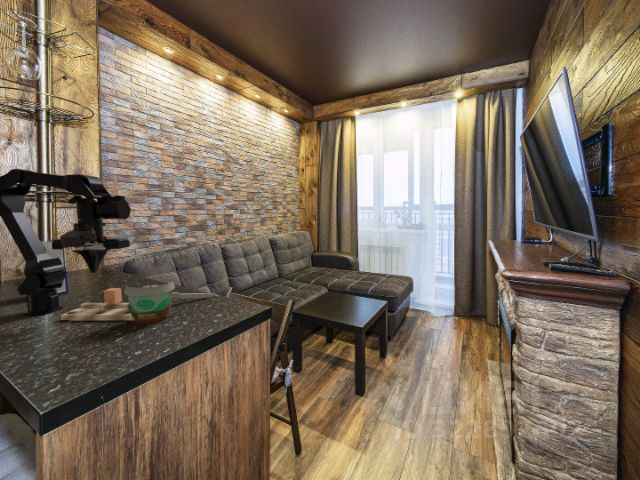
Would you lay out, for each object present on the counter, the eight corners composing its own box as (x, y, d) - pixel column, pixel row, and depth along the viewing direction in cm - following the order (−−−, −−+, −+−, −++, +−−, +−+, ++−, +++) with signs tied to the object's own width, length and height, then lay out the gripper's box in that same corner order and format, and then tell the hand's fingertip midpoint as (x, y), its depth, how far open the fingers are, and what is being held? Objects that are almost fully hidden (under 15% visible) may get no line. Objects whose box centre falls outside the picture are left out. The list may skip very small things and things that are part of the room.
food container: (123, 329, 76) (120, 290, 75) (125, 321, 82) (123, 285, 81) (176, 321, 82) (175, 285, 81) (176, 314, 87) (174, 280, 86)
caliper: (155, 310, 91) (154, 290, 91) (154, 309, 92) (153, 289, 92) (217, 296, 106) (217, 279, 106) (216, 296, 107) (215, 278, 106)
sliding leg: (95, 311, 84) (93, 294, 83) (112, 303, 91) (111, 288, 90) (105, 311, 84) (104, 294, 83) (122, 303, 91) (121, 288, 90)
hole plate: (61, 320, 82) (59, 297, 82) (91, 307, 93) (89, 287, 93) (131, 320, 82) (130, 297, 82) (153, 307, 93) (151, 287, 93)
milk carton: (33, 296, 105) (28, 239, 103) (55, 291, 111) (50, 238, 109) (47, 298, 103) (42, 240, 101) (68, 293, 109) (64, 238, 107)
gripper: (30, 220, 78) (36, 279, 80) (103, 220, 79) (107, 278, 80) (66, 219, 90) (70, 270, 91) (129, 219, 90) (132, 270, 91)
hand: (94, 272), depth 88 cm, fingers closed
